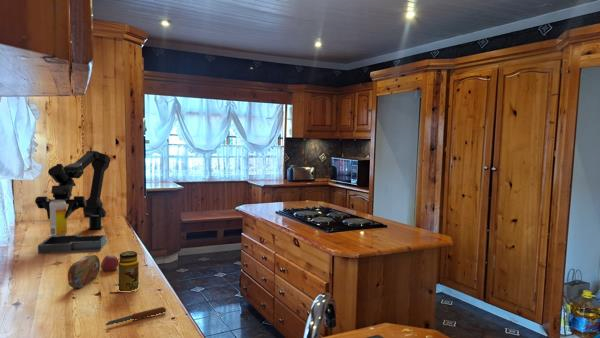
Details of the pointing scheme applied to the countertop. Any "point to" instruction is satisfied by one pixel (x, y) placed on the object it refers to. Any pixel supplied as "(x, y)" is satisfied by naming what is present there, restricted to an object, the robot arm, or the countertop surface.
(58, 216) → the beer can
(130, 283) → the condiment
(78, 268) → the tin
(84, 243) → the keyhole plate
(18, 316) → the countertop surface
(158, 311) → the kitchen knife
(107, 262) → the fruit
